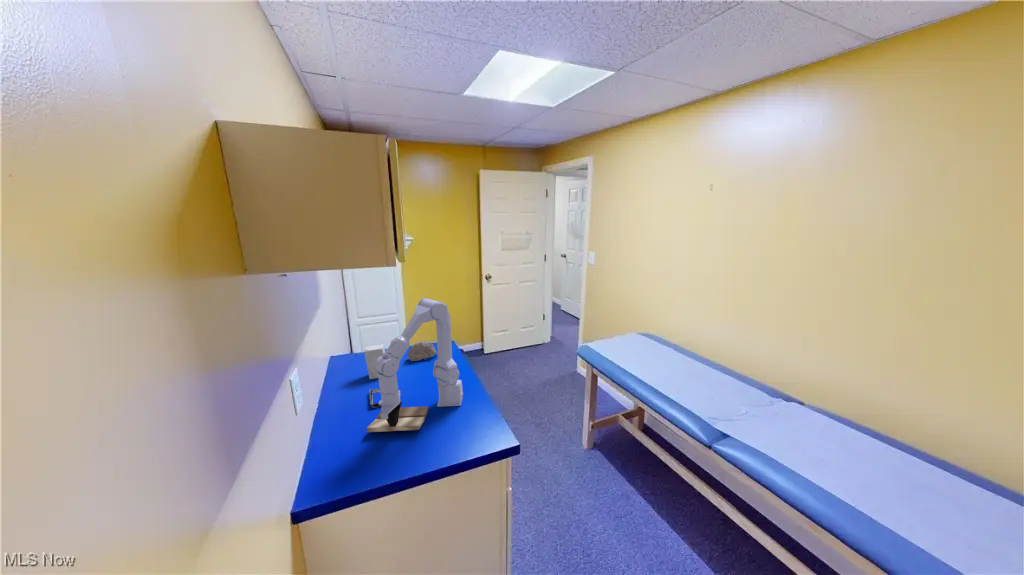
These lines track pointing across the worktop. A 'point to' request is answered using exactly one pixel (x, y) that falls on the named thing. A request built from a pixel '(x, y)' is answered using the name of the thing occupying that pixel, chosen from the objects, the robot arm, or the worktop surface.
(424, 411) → the walnut strip
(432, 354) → the pumice stone
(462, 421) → the worktop surface
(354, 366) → the worktop surface
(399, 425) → the maple plank
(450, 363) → the robot arm
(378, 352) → the skincare box
